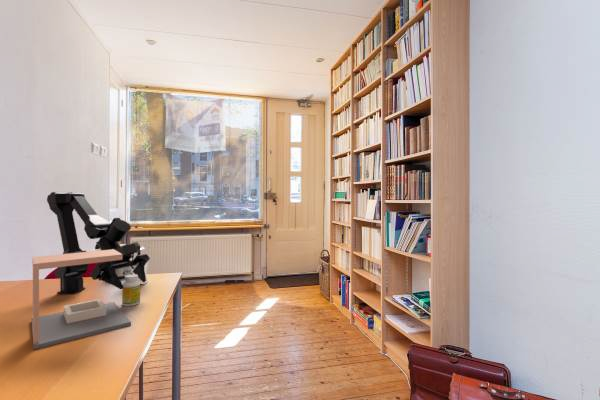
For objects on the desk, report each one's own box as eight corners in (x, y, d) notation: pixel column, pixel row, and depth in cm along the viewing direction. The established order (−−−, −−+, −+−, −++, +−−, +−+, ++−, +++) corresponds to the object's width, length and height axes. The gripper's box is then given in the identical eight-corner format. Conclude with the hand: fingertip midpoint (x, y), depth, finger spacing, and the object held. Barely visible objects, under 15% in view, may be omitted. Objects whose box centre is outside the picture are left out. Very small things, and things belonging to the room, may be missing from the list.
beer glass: (152, 281, 131) (152, 247, 131) (139, 286, 124) (139, 249, 124) (140, 280, 133) (140, 246, 133) (126, 284, 126) (126, 248, 126)
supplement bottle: (132, 307, 101) (132, 278, 101) (118, 305, 102) (118, 277, 102) (143, 301, 106) (143, 274, 106) (130, 300, 107) (130, 273, 107)
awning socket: (31, 321, 89) (31, 251, 88) (114, 304, 103) (114, 244, 103) (33, 349, 72) (33, 264, 72) (131, 325, 87) (131, 254, 86)
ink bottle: (115, 280, 132) (115, 253, 132) (104, 277, 137) (104, 251, 137) (136, 275, 141) (136, 250, 140) (126, 273, 145) (126, 248, 145)
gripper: (96, 238, 97) (120, 276, 93) (146, 232, 114) (168, 264, 110) (80, 260, 100) (102, 298, 96) (131, 251, 117) (152, 283, 113)
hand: (134, 284), depth 103 cm, fingers open, 8 cm apart
